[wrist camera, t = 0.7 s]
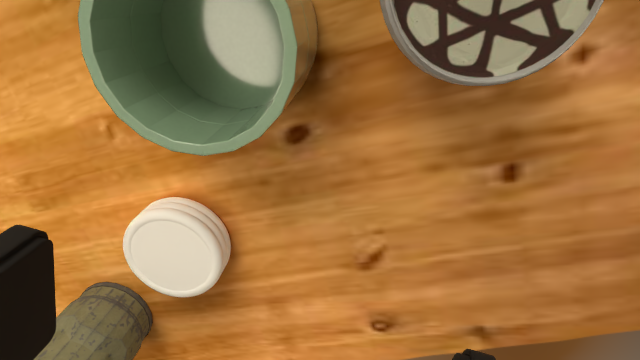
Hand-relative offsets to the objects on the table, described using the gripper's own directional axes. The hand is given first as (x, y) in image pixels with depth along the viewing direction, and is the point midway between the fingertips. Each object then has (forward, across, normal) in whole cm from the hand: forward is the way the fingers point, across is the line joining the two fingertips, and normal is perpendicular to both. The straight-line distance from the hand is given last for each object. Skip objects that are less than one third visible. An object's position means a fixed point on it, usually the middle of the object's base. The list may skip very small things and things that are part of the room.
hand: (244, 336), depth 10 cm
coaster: (+29, +12, +20) cm, 37 cm away
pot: (+28, +9, -2) cm, 30 cm away
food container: (+29, -8, -7) cm, 30 cm away
